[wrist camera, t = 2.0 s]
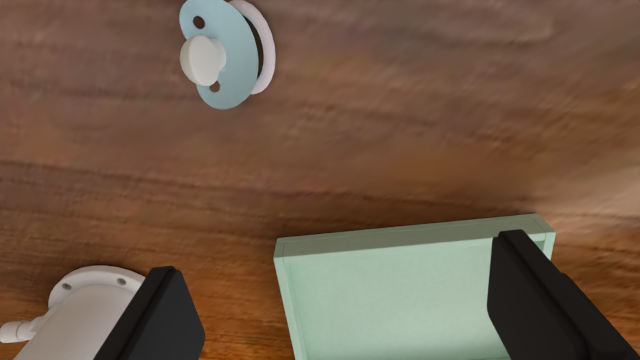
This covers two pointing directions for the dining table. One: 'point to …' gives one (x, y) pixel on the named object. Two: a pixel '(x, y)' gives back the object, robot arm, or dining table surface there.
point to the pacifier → (225, 50)
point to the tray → (396, 290)
